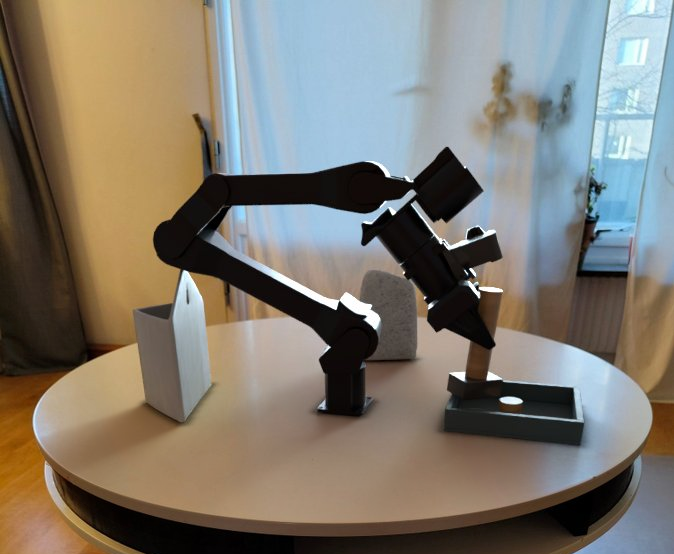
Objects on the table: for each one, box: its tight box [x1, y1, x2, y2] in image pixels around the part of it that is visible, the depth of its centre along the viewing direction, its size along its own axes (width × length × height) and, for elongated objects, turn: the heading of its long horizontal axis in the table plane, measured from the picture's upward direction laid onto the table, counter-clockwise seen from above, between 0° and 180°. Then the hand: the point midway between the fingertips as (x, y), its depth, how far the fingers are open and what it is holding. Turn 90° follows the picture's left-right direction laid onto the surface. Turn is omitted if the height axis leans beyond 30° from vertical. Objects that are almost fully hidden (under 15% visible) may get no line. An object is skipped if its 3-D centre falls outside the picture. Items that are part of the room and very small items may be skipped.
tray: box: [443, 379, 585, 446], centre depth 82 cm, size 14×17×3 cm
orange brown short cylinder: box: [498, 397, 523, 414], centre depth 82 cm, size 3×3×2 cm
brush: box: [446, 286, 504, 400], centre depth 80 cm, size 6×4×14 cm, turn 113°
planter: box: [132, 269, 212, 423], centre depth 86 cm, size 16×8×19 cm, turn 178°
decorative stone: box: [358, 269, 418, 361], centre depth 106 cm, size 11×6×15 cm, turn 84°
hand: (492, 344), depth 80 cm, fingers closed on brush, 3 cm apart
